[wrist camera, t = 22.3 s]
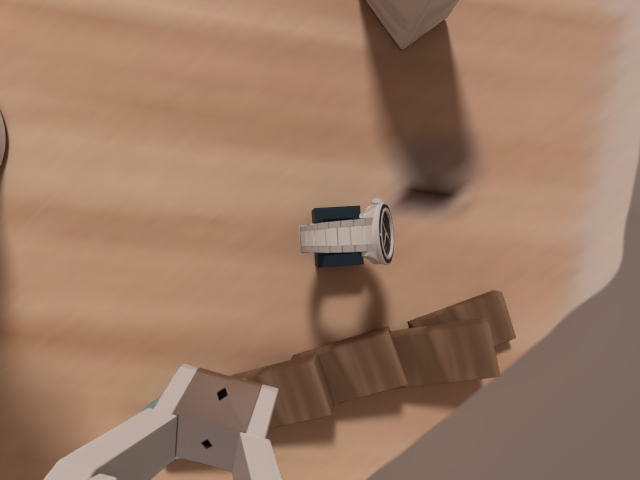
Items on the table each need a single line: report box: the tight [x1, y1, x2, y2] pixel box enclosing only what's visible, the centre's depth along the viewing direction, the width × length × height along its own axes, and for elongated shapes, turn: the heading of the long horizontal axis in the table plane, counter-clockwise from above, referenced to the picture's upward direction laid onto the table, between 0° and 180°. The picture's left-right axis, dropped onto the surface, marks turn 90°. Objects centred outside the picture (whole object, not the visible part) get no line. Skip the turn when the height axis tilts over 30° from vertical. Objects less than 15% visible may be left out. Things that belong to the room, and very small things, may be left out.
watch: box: [299, 198, 394, 268], centre depth 31 cm, size 6×8×11 cm
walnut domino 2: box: [291, 326, 408, 404], centre depth 35 cm, size 2×5×10 cm
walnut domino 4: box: [390, 317, 500, 389], centre depth 35 cm, size 2×5×10 cm
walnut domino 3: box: [408, 290, 516, 346], centre depth 38 cm, size 2×5×10 cm
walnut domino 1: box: [230, 353, 334, 429], centre depth 34 cm, size 2×5×10 cm
